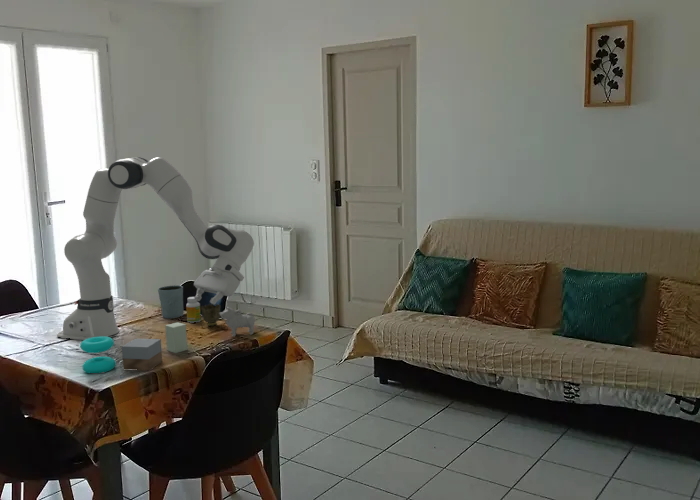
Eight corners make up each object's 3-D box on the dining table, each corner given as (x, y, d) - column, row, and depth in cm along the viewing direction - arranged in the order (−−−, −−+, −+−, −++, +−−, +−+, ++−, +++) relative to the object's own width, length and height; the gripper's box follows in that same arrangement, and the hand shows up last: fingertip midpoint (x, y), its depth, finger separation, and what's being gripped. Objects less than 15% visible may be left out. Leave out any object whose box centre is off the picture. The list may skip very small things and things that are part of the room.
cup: (225, 323, 275) (223, 303, 274) (215, 328, 268) (214, 308, 267) (208, 322, 278) (207, 303, 276) (198, 327, 271) (197, 307, 269)
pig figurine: (220, 334, 260) (218, 306, 259) (254, 330, 264) (252, 303, 262) (221, 337, 255) (219, 309, 254) (256, 334, 259) (254, 306, 257)
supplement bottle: (197, 323, 277) (196, 299, 276) (185, 323, 279) (183, 299, 277) (203, 319, 283) (201, 296, 281) (190, 319, 284) (189, 296, 282)
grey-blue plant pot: (181, 318, 286) (179, 289, 284) (156, 319, 286) (154, 290, 284) (187, 312, 296) (185, 284, 294) (163, 313, 296) (161, 285, 294)
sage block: (167, 350, 242) (165, 325, 240) (179, 347, 245) (177, 322, 244) (175, 353, 238) (173, 327, 237) (187, 349, 242) (185, 324, 241)
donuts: (119, 336, 225) (98, 345, 215) (122, 366, 226) (101, 376, 217) (95, 334, 228) (72, 342, 219) (97, 363, 230) (76, 373, 220)
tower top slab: (122, 358, 222) (121, 346, 221) (136, 350, 231) (135, 338, 230) (148, 359, 220) (147, 347, 220) (161, 350, 229) (160, 339, 228)
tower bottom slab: (123, 370, 222) (122, 358, 222) (137, 362, 231) (136, 350, 231) (149, 371, 221) (148, 359, 220) (162, 362, 229) (161, 351, 229)
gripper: (202, 262, 259) (181, 292, 254) (236, 268, 245) (215, 300, 239) (213, 272, 263) (193, 302, 257) (247, 278, 249) (226, 310, 243)
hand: (204, 301), depth 248 cm, fingers open, 8 cm apart
